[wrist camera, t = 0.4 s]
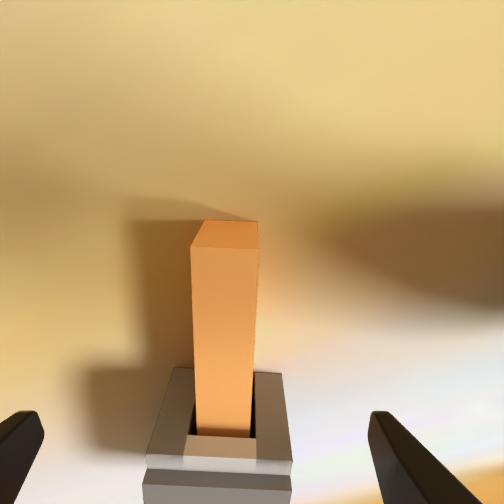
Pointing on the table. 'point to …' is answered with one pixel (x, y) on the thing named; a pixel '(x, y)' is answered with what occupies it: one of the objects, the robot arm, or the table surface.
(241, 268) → the orange rectangular bar
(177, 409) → the dispenser
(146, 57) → the table surface
